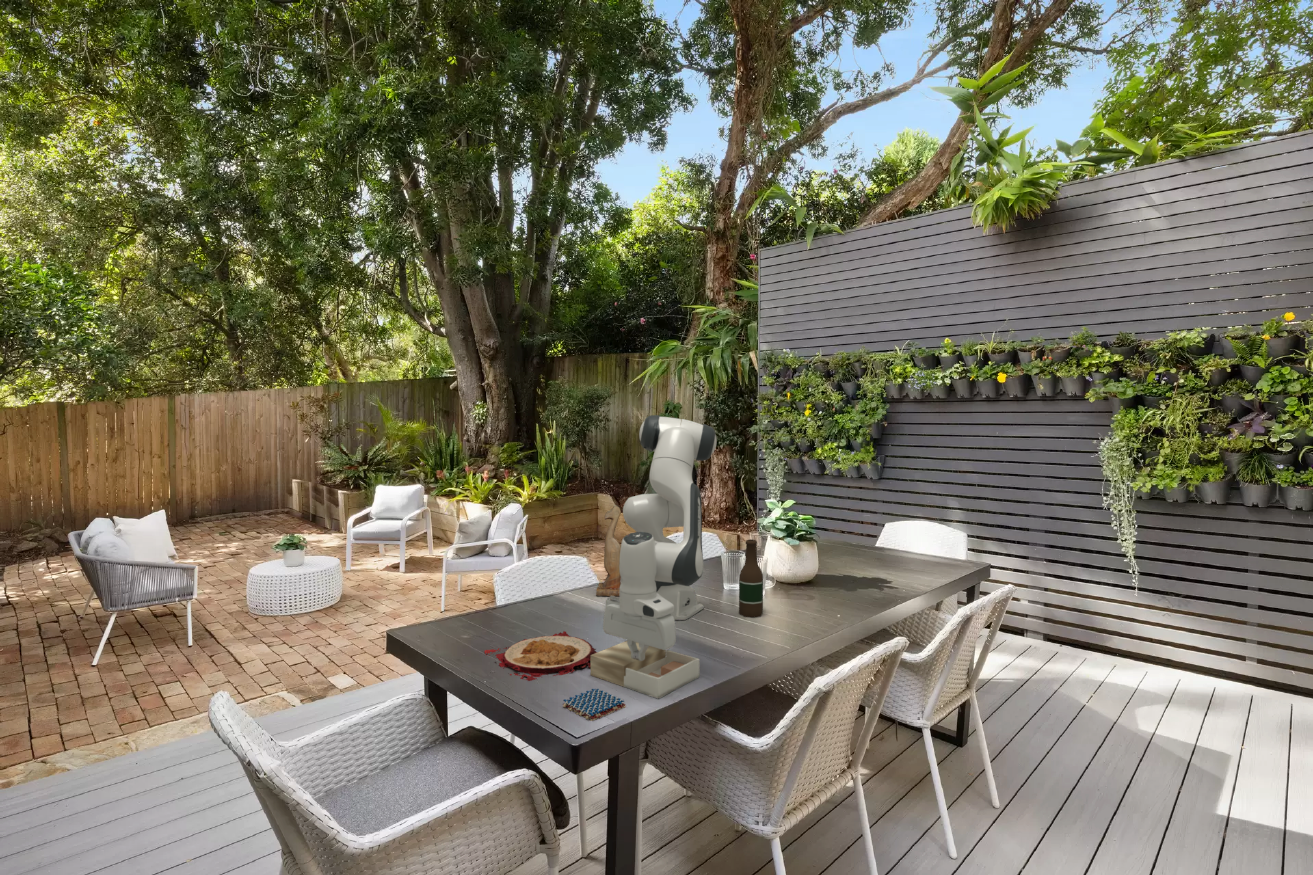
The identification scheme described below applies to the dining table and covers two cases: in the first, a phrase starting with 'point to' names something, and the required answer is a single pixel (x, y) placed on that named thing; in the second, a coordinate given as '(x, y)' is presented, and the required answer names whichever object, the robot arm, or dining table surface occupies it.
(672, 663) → the terracotta tile
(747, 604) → the beer bottle
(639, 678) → the box
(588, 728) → the dining table surface
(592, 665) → the wooden box sleeve
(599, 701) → the woven mat
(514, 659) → the plate with food
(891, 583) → the dining table surface
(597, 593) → the bird sculpture
